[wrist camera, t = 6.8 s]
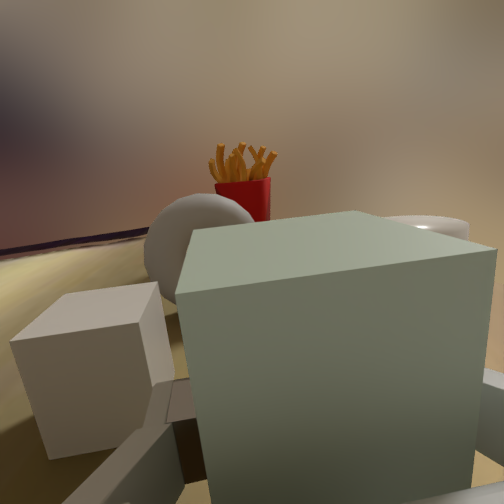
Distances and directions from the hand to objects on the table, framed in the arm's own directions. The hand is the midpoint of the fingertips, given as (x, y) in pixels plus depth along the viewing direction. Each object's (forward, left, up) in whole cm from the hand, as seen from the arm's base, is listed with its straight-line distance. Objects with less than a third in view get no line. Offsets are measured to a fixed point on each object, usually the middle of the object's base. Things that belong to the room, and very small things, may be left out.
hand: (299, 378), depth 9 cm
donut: (-3, +18, -6) cm, 19 cm away
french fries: (+3, +36, -6) cm, 37 cm away
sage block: (0, -1, -6) cm, 6 cm away
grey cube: (-8, +7, -6) cm, 12 cm away
